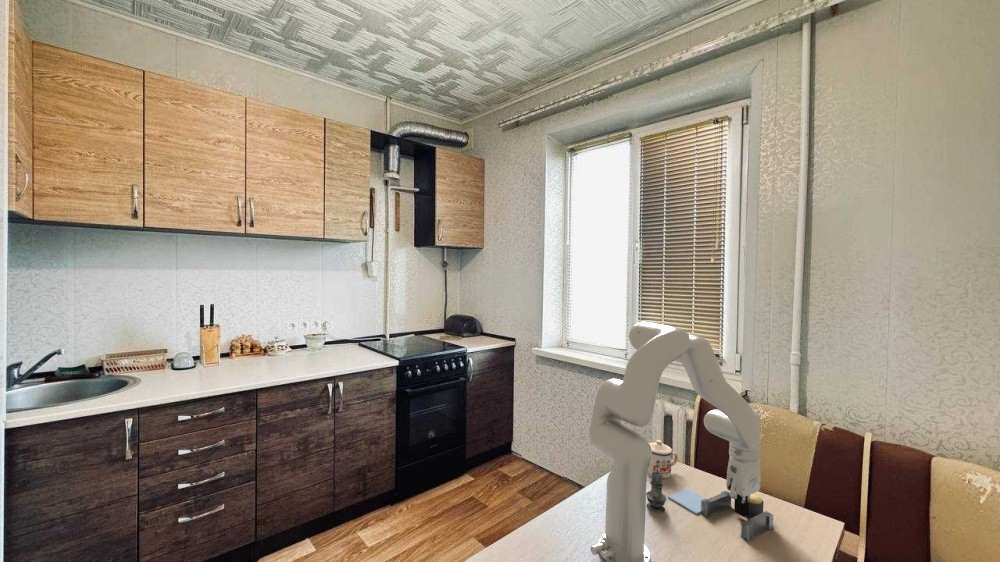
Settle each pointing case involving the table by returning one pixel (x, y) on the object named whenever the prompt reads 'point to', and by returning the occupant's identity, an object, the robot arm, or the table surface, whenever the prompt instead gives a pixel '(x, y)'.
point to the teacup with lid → (661, 459)
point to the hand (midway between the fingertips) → (741, 513)
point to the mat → (688, 500)
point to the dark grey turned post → (656, 494)
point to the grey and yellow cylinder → (755, 506)
